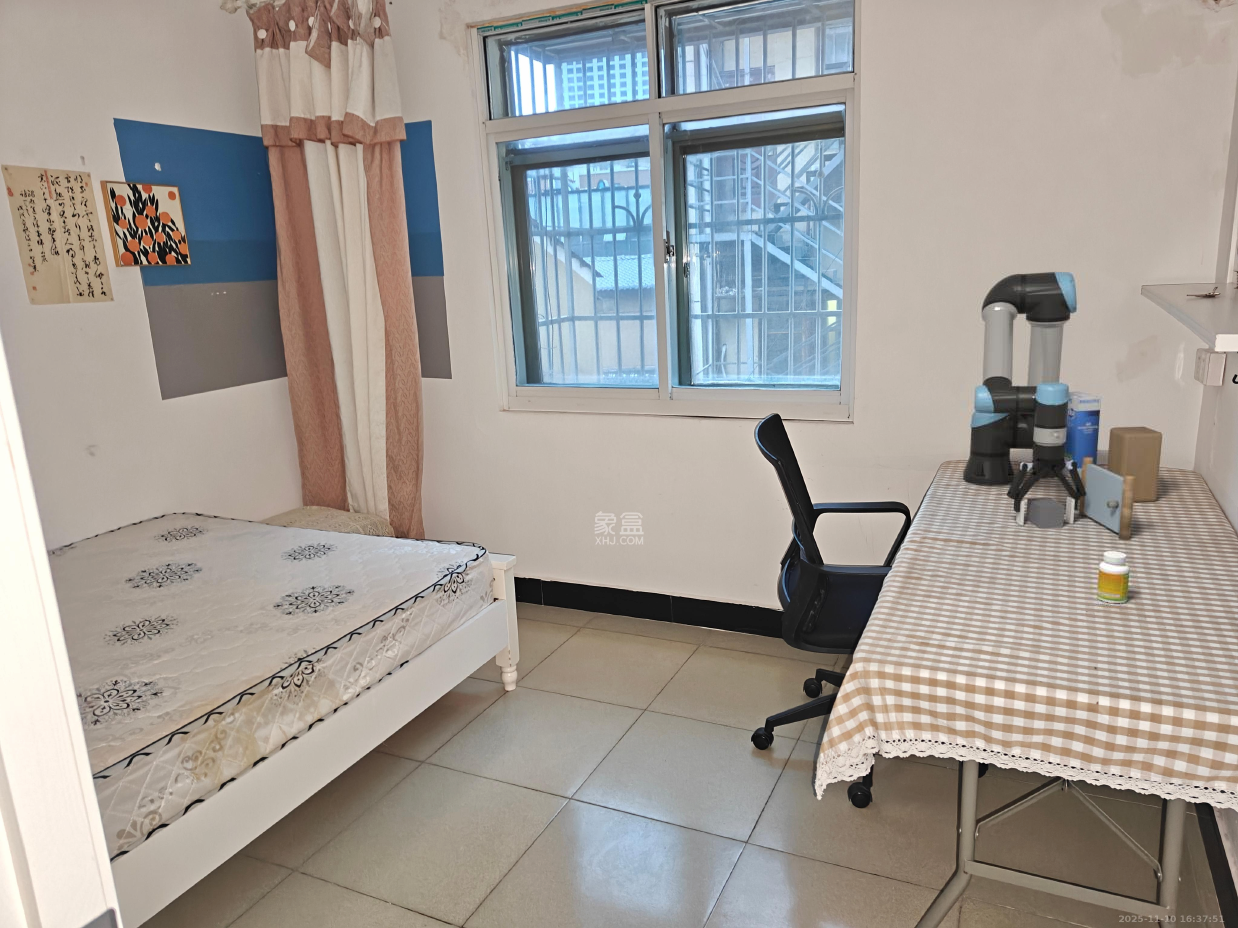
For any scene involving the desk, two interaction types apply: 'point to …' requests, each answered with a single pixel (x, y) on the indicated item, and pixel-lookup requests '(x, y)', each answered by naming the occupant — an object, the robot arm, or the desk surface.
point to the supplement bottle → (1113, 578)
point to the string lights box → (1082, 429)
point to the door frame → (1126, 500)
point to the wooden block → (1136, 458)
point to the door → (1103, 496)
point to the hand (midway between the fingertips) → (1044, 522)
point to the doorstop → (1045, 513)
